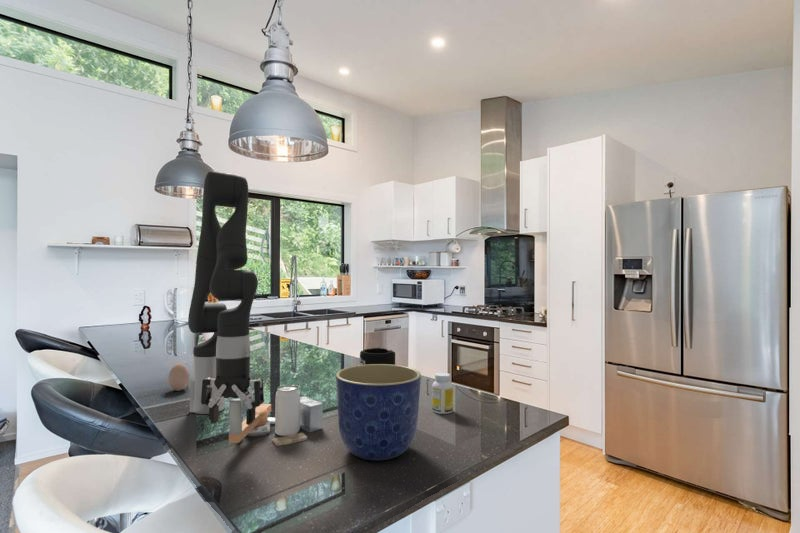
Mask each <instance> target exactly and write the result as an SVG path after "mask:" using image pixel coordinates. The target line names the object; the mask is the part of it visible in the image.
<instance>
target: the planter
mask: <svg viewBox="0 0 800 533" xmlns="http://www.w3.org/2000/svg"><path fill="white" fill-rule="evenodd" d="M421 380H422V374H421V372H420V371H419V370H417V369H416V368H413V367H410V366H405V365H398V364H395V365H390V364H368V365H359V364H358V365H353V366H348V367H345V368H342V369H340V370H338V371H337V372H336V374H335V381H336V382H335V384H336V399H337V400H336V402H337V417H338V430H339V434H340V438H341V441H342V442H343V445H344V446H345V448H346V449H347V450H348V451H349V452H350V453H351V454H352V455H354V456H356V457H358V458H360V459H363V460H367V461H378V462H379V461H387V460H391V459H394V458H395V459H396V458H398V457H399V456H401V455H403V454H404V453H405V452H406V451H407V450H408V449H409V448H410V447H411V445H412V443H413V442H414V439H415V437H416V433H417V430H418V419H419V407H420V406H419V405H420V392H421Z"/></svg>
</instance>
